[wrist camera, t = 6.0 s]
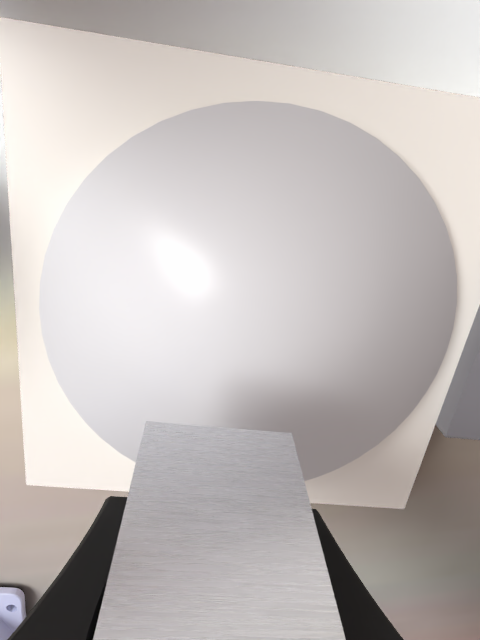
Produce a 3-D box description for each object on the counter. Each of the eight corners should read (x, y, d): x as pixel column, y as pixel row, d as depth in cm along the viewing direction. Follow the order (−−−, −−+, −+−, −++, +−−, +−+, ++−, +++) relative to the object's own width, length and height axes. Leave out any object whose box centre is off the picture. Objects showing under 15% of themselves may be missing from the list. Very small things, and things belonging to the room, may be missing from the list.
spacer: (268, 538, 14) (306, 818, 8) (138, 530, 13) (82, 821, 8) (291, 432, 12) (358, 687, 6) (145, 421, 12) (82, 682, 6)
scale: (446, 486, 21) (473, 527, 19) (40, 457, 19) (18, 500, 17) (593, 124, 15) (658, 122, 13) (21, 30, 13) (-18, 8, 11)
